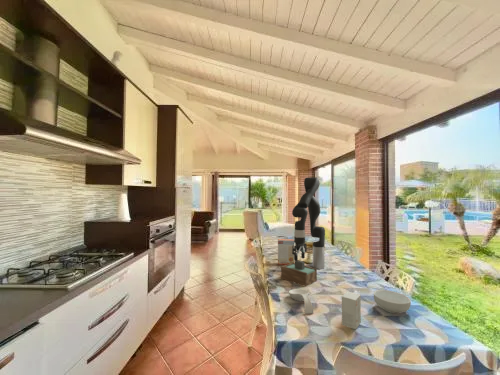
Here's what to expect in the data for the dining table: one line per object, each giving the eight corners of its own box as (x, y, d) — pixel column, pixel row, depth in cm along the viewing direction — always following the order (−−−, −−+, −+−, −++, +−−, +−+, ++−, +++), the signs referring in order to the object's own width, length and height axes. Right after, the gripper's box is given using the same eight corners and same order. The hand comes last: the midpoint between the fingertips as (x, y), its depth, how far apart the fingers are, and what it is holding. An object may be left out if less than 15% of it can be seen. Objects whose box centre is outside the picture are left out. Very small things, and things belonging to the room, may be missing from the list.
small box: (347, 317, 115) (347, 290, 116) (361, 322, 111) (361, 294, 112) (341, 324, 109) (341, 296, 110) (355, 330, 105) (355, 300, 106)
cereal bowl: (411, 321, 113) (411, 306, 113) (372, 312, 121) (372, 298, 122) (410, 307, 127) (409, 293, 127) (375, 299, 136) (374, 287, 136)
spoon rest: (286, 294, 142) (286, 282, 142) (305, 294, 143) (305, 282, 143) (298, 315, 118) (298, 300, 119) (321, 314, 119) (321, 299, 120)
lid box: (292, 273, 178) (292, 262, 179) (316, 281, 164) (316, 268, 164) (281, 278, 169) (281, 266, 169) (305, 286, 154) (305, 273, 154)
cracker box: (293, 263, 206) (294, 239, 207) (294, 265, 200) (294, 240, 201) (277, 262, 207) (277, 238, 208) (277, 264, 201) (277, 239, 202)
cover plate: (293, 265, 176) (293, 257, 176) (315, 271, 163) (315, 262, 163) (284, 268, 169) (284, 260, 169) (306, 274, 156) (306, 265, 156)
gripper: (300, 234, 174) (300, 256, 174) (289, 236, 164) (289, 260, 164) (309, 235, 169) (309, 258, 168) (298, 238, 159) (298, 262, 158)
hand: (299, 259), depth 166 cm, fingers open, 8 cm apart
